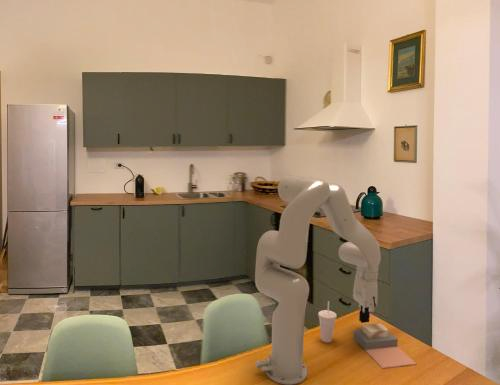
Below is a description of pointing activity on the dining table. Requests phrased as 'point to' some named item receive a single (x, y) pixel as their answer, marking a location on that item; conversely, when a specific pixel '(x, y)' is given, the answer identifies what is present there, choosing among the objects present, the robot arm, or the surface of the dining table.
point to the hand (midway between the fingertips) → (364, 321)
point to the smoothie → (327, 324)
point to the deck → (374, 341)
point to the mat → (390, 357)
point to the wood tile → (375, 331)
